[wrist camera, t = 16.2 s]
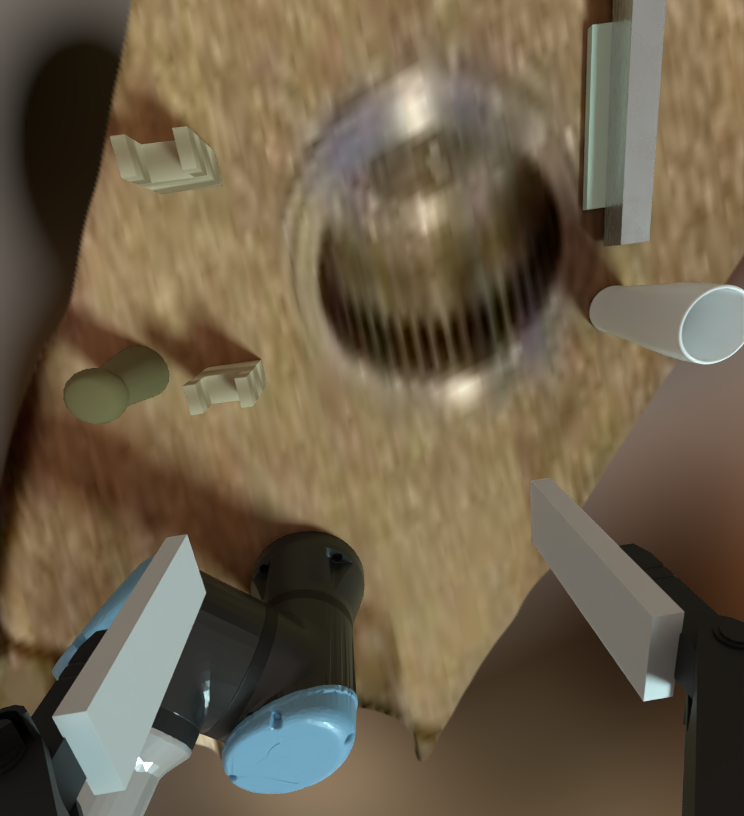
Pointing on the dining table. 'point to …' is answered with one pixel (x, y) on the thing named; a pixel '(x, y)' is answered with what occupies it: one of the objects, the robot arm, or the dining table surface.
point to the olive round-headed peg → (116, 385)
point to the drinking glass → (674, 318)
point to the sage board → (596, 115)
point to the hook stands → (178, 171)
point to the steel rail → (632, 118)
